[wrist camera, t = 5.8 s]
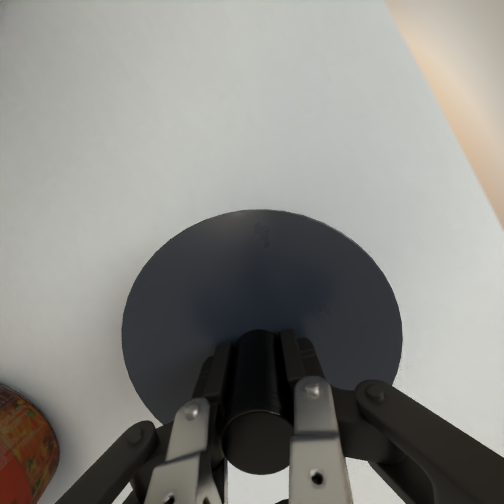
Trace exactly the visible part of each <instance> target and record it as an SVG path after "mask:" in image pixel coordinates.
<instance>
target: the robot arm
mask: <svg viewBox="0 0 504 504" xmlns="http://www.w3.org/2000/svg"><path fill="white" fill-rule="evenodd" d="M280 336H281V343H282V349H283V356H284V362H285V369H286V375H287V381H288V385H289V389H290V393H291V397H292V401H293V404H294V435H291V436H290V461H289V499H285V500H282V501H280V502H278V503H276V504H354V502H353V497H352V492H351V486H350V481H349V476H348V470H347V465H346V460H345V457H349V458H354V459H360V460H365V461H368V463H369V464H370V466H371V467H372V468H373V469H374V470H375V471H376V472H377V474H378V475H379V476H380V477H381V478H382V479H383V480H384V481H385V482H386V483H387V484H388V485H389V486H390V487H391V488H392V489H393V490H394V492H395V493H396V494H397V495H398V496H399V497H400V498H401V499H402V500H403V501H404V502H405V503H406V504H504V458H503V457H502V456H500V455H498V454H497V453H495V452H494V451H492V450H491V449H489V448H488V447H486V446H484V445H483V444H481V443H480V442H478V441H477V440H475V439H474V438H472V437H470V436H469V435H467V434H466V433H464V432H463V431H461V430H460V429H458V428H456V427H455V426H453V425H452V424H450V423H449V422H447V421H446V420H444V419H443V418H441V417H439V416H438V415H436V414H435V413H433V412H432V411H430V410H429V409H427V408H425V407H424V406H422V405H421V404H419V403H418V402H416V401H415V400H413V399H411V398H410V397H408V396H407V395H405V394H404V393H402V392H401V391H399V390H397V389H396V388H394V387H393V386H391V385H390V384H388V383H386V382H384V381H380V380H374V379H371V380H365V381H362V382H360V383H359V384H358V385H357V386H356V388H355V391H352V390H342V389H339V388H336V387H334V386H332V385H331V384H330V383H329V382H328V381H327V380H326V378H325V375H324V373H323V370H322V367H321V365H320V362H319V359H318V356H317V354H316V351H315V348H314V346H313V343H312V341H310V340H309V339H308V338H307V337H303V338H298V339H296V337H295V333H294V330H293V329H292V330H287V331H282V332H280ZM234 352H235V351H234V347H233V344H232V343H231V342H228V343H224V344H219V345H217V347H216V350H215V354H214V356H209V357H208V358H207V359H206V360H205V362H204V363H203V364H202V367H201V370H200V373H199V376H198V379H197V382H196V385H195V388H194V391H193V394H192V397H191V400H189V401H187V402H186V403H184V404H183V405H182V406H181V407H180V408H179V410H178V411H177V413H176V416H175V420H173V421H172V422H170V423H167V424H165V425H163V426H161V427H159V428H157V429H155V426H154V424H153V423H152V422H151V421H141V422H138V423H136V424H134V425H133V426H131V427H130V428H129V429H127V430H126V431H125V432H124V433H123V434H122V435H121V436H120V437H119V438H118V439H117V440H116V441H115V442H114V443H113V444H112V445H111V446H110V447H109V448H108V449H107V451H106V452H105V453H104V454H103V455H102V456H101V457H100V458H99V459H98V460H97V461H96V462H95V463H94V464H93V465H92V466H91V467H90V468H89V469H88V470H87V471H86V472H85V473H84V474H83V475H82V476H81V477H80V478H79V479H78V480H77V481H76V482H75V483H74V484H73V485H72V486H71V488H70V489H69V490H68V491H67V492H66V493H65V494H64V495H63V496H62V497H61V498H60V499H59V500H58V501H57V502H56V503H55V504H112V502H113V501H114V500H115V499H116V497H117V496H118V495H119V494H120V492H121V491H122V490H123V489H124V487H125V486H126V485H127V484H128V483H129V482H130V484H131V486H132V488H133V491H132V492H131V493H130V494H129V496H128V497H127V498H126V500H125V501H124V502H123V504H228V469H227V459H226V457H225V455H224V453H223V451H222V447H221V433H222V426H223V420H224V414H225V408H226V401H227V395H228V389H229V383H230V377H231V370H232V364H233V358H234Z"/></svg>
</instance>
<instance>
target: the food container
mask: <svg viewBox="0 0 504 504" xmlns="http://www.w3.org/2000/svg"><path fill="white" fill-rule="evenodd" d="M58 462H59V446H58V441H57V439H56V435H55V434H54V432H53V430H52V427H51V426H50V424H49V423H48V421H47V419H46V418H45V417H44V415H43V414H42V413H41V412H40V410H38V409H37V408H36V407H35V406H34V405H33V404H31V403H30V401H28V400H27V399H26V398H25V397H23V396H21V395H20V394H18V393H17V392H16V391H14V390H12V389H9V388H8V387H5V386H3V385H0V504H36V503H37V502H38V500H39V498H40V497H41V495H42V493H43V492H44V490H45V489H46V487H47V485H48V484H49V482H50V480H51V479H52V477H53V475H54V473H55V471H56V469H57V466H58Z"/></svg>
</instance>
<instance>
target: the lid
mask: <svg viewBox="0 0 504 504" xmlns="http://www.w3.org/2000/svg"><path fill="white" fill-rule="evenodd" d="M292 329H293V330H294V333H295V337H296V339H298V338H303V337H307V338H308V339H309V340H310V341H312V343H313V346H314V348H315V351H316V354H317V356H318V359H319V362H320V365H321V367H322V370H323V373H324V375H325V378H326V380H327V381H328V382H329V383H330V384H331V385H332V386H334V387H336V388H339V389H342V390H352V391H355V388H356V386H357V385H358V384H359V383H360V382H362V381H365V380H371V379H374V380H380V381H384V382H386V383H388V384H390V385H391V386H392V384H393V382H394V379H395V377H396V374H397V371H398V367H399V363H400V359H401V352H402V341H403V337H402V322H401V317H400V312H399V308H398V304H397V301H396V299H395V296H394V293H393V290H392V288H391V286H390V284H389V283H388V281H387V279H386V277H385V275H384V274H383V272H382V271H381V269H380V268H379V267H378V265H377V264H376V263H375V262H374V260H373V259H372V258H371V257H370V256H369V255H368V254H367V253H366V252H365V251H364V250H363V249H362V248H361V247H360V246H359V245H358V244H357V243H355V242H354V241H353V240H351V239H350V238H348V237H347V236H346V235H344V234H343V233H342V232H340V231H338V230H336V229H334V228H332V227H330V226H329V225H327V224H325V223H322V222H320V221H317V220H314V219H312V218H309V217H306V216H304V215H300V214H295V213H291V212H286V211H279V210H268V209H256V210H241V211H236V212H230V213H225V214H222V215H218V216H215V217H212V218H209V219H206V220H204V221H202V222H199V223H197V224H195V225H193V226H191V227H189V228H187V229H185V230H184V231H182V232H181V233H179V234H178V235H176V236H175V237H173V238H172V239H170V240H169V241H168V242H167V243H166V244H164V245H163V246H162V247H161V248H160V249H159V250H158V251H157V252H156V253H155V254H154V255H153V256H152V257H151V259H150V260H149V261H148V262H147V263H146V264H145V266H144V267H143V269H142V270H141V272H140V274H139V275H138V277H137V278H136V280H135V282H134V284H133V286H132V289H131V291H130V293H129V296H128V299H127V302H126V306H125V310H124V313H123V322H122V349H123V355H124V361H125V365H126V368H127V371H128V374H129V377H130V379H131V381H132V384H133V386H134V388H135V390H136V392H137V393H138V395H139V397H140V398H141V400H142V401H143V403H144V404H145V406H146V407H147V408H148V409H149V411H150V412H151V413H152V414H153V415H154V416H155V418H156V419H157V420H159V421H160V422H161V423H162V424H163V425H165V424H167V423H170V422H172V421H173V420H175V416H176V413H177V411H178V410H179V408H180V407H181V406H182V405H183V404H184V403H186V402H187V401H189V400H191V397H192V394H193V391H194V388H195V385H196V382H197V379H198V376H199V373H200V370H201V367H202V364H203V363H204V362H205V360H206V359H207V358H208V357H209V356H214V354H215V350H216V347H217V345H219V344H224V343H228V342H231V343H232V344H233V347H234V351H235V352H234V358H233V364H232V370H231V377H230V383H229V389H228V395H227V401H226V408H225V414H224V420H223V426H222V433H221V447H222V451H223V453H224V455H225V457H226V459H227V460H228V461H229V462H230V463H231V464H232V465H233V466H235V467H236V468H238V469H239V470H241V471H244V472H247V473H250V474H256V475H267V474H273V473H276V472H279V471H281V470H283V469H285V468H286V467H288V466H289V461H290V436H291V435H294V404H293V401H292V397H291V393H290V389H289V385H288V381H287V375H286V369H285V362H284V356H283V349H282V343H281V336H280V332H282V331H287V330H292Z"/></svg>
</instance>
